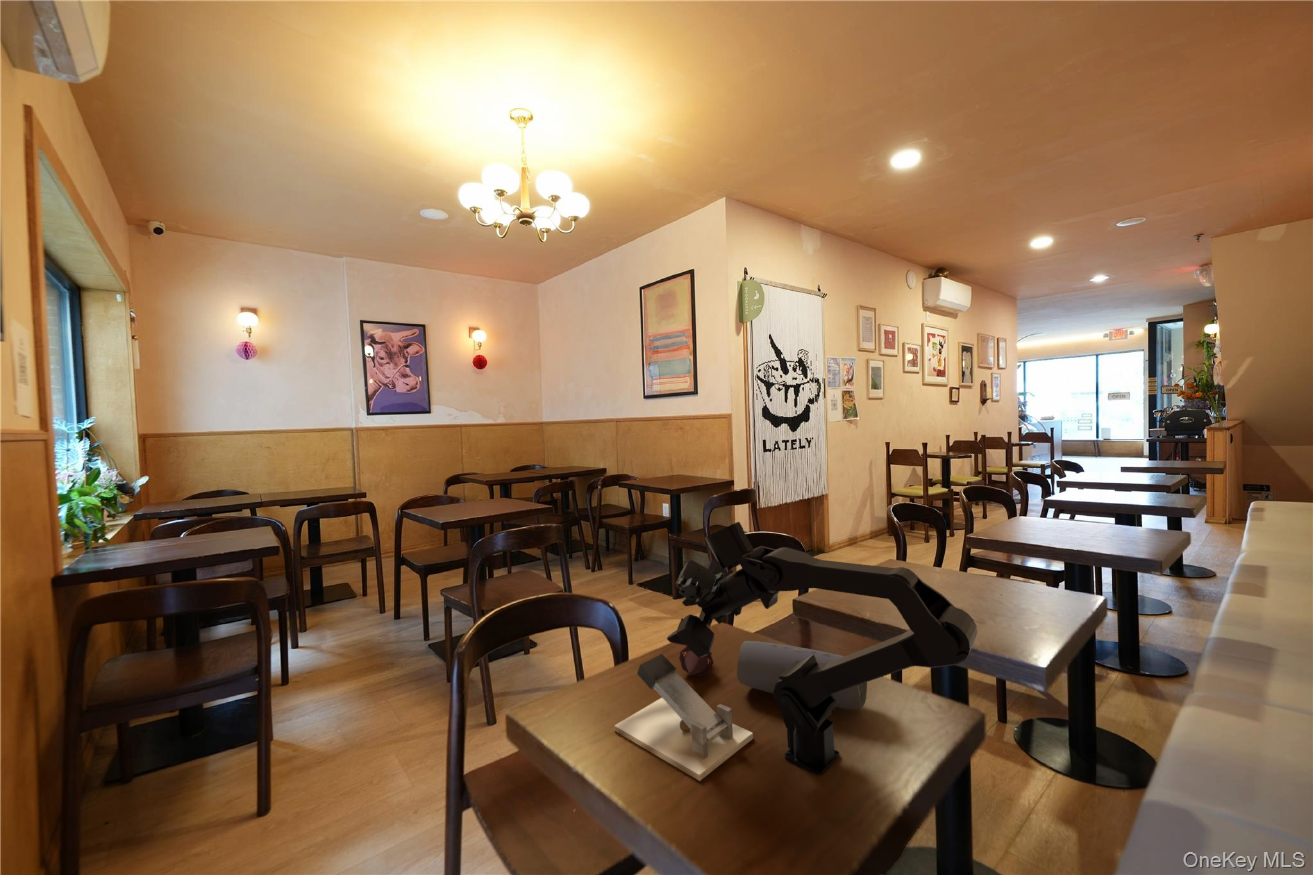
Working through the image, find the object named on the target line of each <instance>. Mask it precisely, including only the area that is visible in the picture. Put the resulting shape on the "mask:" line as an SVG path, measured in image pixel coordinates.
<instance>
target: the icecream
mask: <svg viewBox="0 0 1313 875" xmlns="http://www.w3.org/2000/svg"><path fill="white" fill-rule="evenodd" d="M712 654H713V653H712V651H710V653H709V654H708V655H706V656H703V657H700V658H698V657H697V656H696V655H695V654H694V653H693V652H692V651H691V650H690V649H689V648H688V647H687V646H686V645H685V647H684V648H683V649H682V650H680V652H679V657H678V659H679V662H680V665H681V668H682V670H683V671H684V672H686V673H687V674H689V675H690V676H691V677H705V676H706V675H707V674H708V673H709V672H710V671H711V670H712V669H713V665H714V662H715V661H714V659H713V657H712Z"/></svg>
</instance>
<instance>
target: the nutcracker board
mask: <svg viewBox="0 0 1313 875" xmlns="http://www.w3.org/2000/svg"><path fill="white" fill-rule="evenodd" d="M732 711H733V710H732V708H731V707H729V706H726V705H724V704H721V703H719V704H718V705H716V714H717V715H718V716H719V717H720V718H721V719H722V720H723V721H724V722H725V723H726V724H727V728H726V730H725V732H724V733H722V734H721V735H720V736H718V737H717V738H715V739H714V740H713V741H711V742H710V743H709V744H707V728H706V726H705V725H703V724H701V723H699V722H697V721H694V722H693V723H691V729H690V728H689V727H688V726H687V725H686V723H685V722H684V721H683V720H682V719H681V718H680V717H679V716H678V715H677V713H676V712H675V711H674V710H673V709H672V708H671V707H670V706H669V705H668V704H667V702H666V701H665V700H664V699H663V698H662V697H660V698H659V699H657V700H655V701H654V702H652V703H650V704H649V705H647V706H645V707H644V708H642V709H640V710H639V711H637V712H635V713H633V714H632V715H630V716H628V717H627V718H624V719H623V720H621V721H620V722H618V723H616V724H615V725H614V728H613V729H614V732H616V733H617V734H620V735H621V736H623V737H624V738H625V739H628V740H629V741H632V742H633V743H635V744H636V745H638V746H640V747H641V748H643V749H645V750H647V751H648V752H650V753H652V754H653V755H655V756H656V757H658V758H660V759H661V760H663V761H665V762H666V763H668V764H671V765H672V766H673V767H675V768H676V769H679V770H680V771H682V772H684V773H685V774H687V775H689V776H691V777H692V778H694V779H695V780H697V781H699V782H701V781H702V780H703V779H705V778H706V777H707V776H708V775H710V774H711V773H712V772H713V771H714V770H715V769H717V768H718V767H719V766H720V765H722V764H723V763H725V762H726V761H727V760H728V759H729V758H731V757H733V755H734V754H736V753H737V752H738V751H740V750H741V749H742V748H743V747H745V745H747V744H748V743H749V742H751V741H752V740H753V739H754V732H752V731H749V730H748V729H746V728H743V727H742V726H741V727H740V725H739V726H738V725H737V724H735V723H733V712H732Z"/></svg>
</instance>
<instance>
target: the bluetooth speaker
mask: <svg viewBox="0 0 1313 875" xmlns="http://www.w3.org/2000/svg"><path fill="white" fill-rule="evenodd" d="M811 655H814V656H815V658H816V661H817V662H818V663H829V662H831V661H834V660H837V659H839V658H842V657H844V656H845V655H841V654H835V653H831V652H827V651H826V652H825V651H821V650H816V649H810V648H805V647H800V646H794V645H793V646H792V645H788V644H782V643H781V644H779V643H774V642H773V643H772V642H765V641H758V640H757V641H756V640H755V641H754V640H744V641H743V642H742V644H741V645H740V648H739V653H738V657H737V658H738V659H737V668H736V676H737V680H738V682H739V684H741V685H744V686H746V687H748V688H752V689H756V690H759V691H763V692H766V693H769V694H773V695H774V693H773V691H774V686H775V684H776V683H777V682H778V681H779V680H780V678H779V676H780V675H781V674H782V673H783V672H784V671H786V670H787V669H788V668H789V667H790V666H791V665H792V664H793V663H794V662H795V661H796V660H799V661H801V660H805V659H807V658H808V657H810V656H811ZM867 691H868V682H866V683H863V684H860V685H857V686H854V687H851V688H848V689H845V690H842V691H839V692H837V693H834V694H832V695H833V697H834V698H835V699H836V700H837V705H836V708H841V709H845V710H846V709H847V710H856V711H857V710H858V711H859V710H860V711H863V708H864V706H865V703H866V700H867V693H868V692H867Z"/></svg>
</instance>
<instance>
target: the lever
mask: <svg viewBox="0 0 1313 875" xmlns="http://www.w3.org/2000/svg"><path fill="white" fill-rule="evenodd" d="M636 674H637V675H638V676H639V678H640V679H641V680H642V681H643V683H645V685H646V686H648V688H649V689H650V690H651V691H652V690H654V691H655V692H657V693H658V695H659V696H660V698H663V699H664V700H665V701H666V702H667V704H668V705H669V706H670V707H671V708H672V709H673V710H674V711H675V712H676V713H677V715H678V716H679V717H680V718H681V719H682V720H683V721H684V722H685V723H686V725H687V726H688V727H689V728H690V729H691V723H693V722H694V721H697V722H699V723H701V724H703V725H705V726H706V728H707V744H709V743H710V742H711V741H713V740H714V739H715V738H717V737H718V736H720V735H721V734H722V733H724V732H725V730H726V728H727V724H726V723H725V722H724V721H723V720H722V719H721V718H720V717H719V716H718V715H717V712H715V710H713V709H712V708H711V706H710V705H709V704H707V702H706V701H705V700H704V699H703V698H702V697H701V696H700V695H699V694H698V693H697V692H696V691H695V690H694V689H693V688H692V687H691V686H690V685H689V684H688V682H686V680H684V679H683V678H682V676H681V675H680V674H679V673H677V667H676V666H674V665H673V663H672V662H671V661H669V659H668V658H667V657H666V656H665V655H664V654H663V653H660V654H659V655H657V656H655V657H653V658H651V659H649V660H647V661H645V662H643V663H641V664H639V667H638V670H637V672H636Z"/></svg>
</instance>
